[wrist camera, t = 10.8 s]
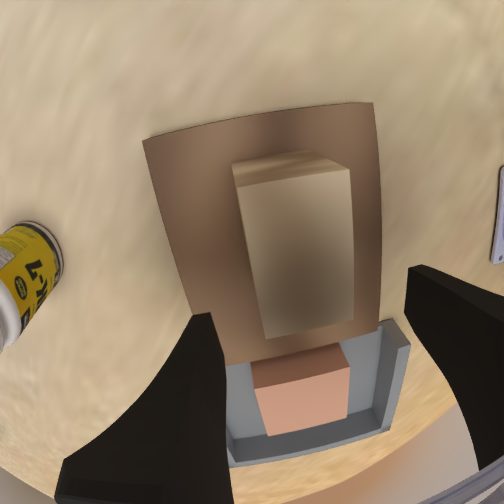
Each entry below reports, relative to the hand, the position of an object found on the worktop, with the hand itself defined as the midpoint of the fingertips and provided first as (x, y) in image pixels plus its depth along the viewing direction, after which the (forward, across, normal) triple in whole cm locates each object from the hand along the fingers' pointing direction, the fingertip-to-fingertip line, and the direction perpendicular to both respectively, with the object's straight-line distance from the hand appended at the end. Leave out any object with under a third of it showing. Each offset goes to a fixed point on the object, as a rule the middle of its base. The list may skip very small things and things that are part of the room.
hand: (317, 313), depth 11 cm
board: (+8, 0, 0) cm, 8 cm away
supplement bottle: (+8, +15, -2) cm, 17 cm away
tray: (+8, 0, +14) cm, 15 cm away
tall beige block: (+6, 0, -2) cm, 6 cm away
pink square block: (+7, 0, +11) cm, 13 cm away
